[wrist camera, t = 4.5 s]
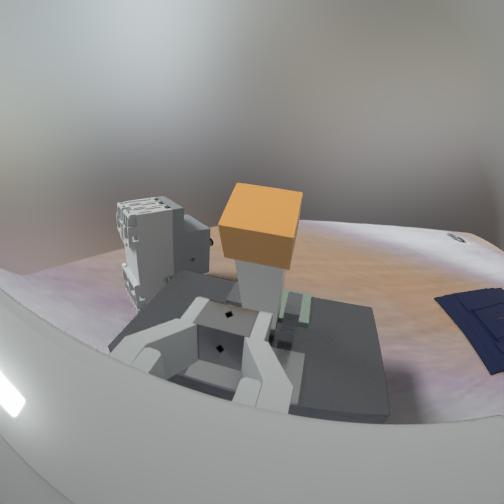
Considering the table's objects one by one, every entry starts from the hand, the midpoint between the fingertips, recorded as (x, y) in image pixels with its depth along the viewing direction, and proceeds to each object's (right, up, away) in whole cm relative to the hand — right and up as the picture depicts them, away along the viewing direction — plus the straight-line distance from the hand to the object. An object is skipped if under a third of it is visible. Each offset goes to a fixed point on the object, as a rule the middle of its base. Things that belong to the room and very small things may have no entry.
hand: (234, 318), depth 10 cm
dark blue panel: (+54, -14, +28) cm, 63 cm away
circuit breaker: (-13, -4, +34) cm, 37 cm away
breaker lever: (+2, -3, +13) cm, 13 cm away
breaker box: (0, -13, +17) cm, 21 cm away
